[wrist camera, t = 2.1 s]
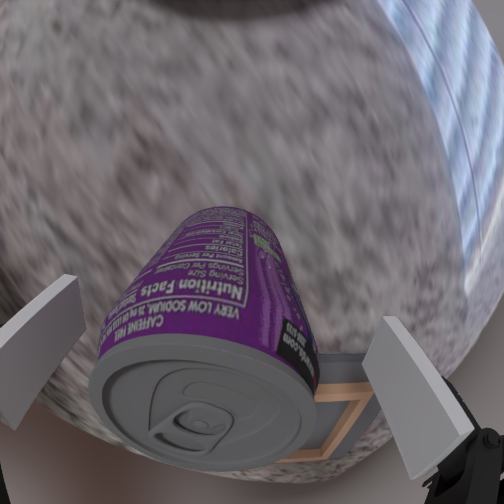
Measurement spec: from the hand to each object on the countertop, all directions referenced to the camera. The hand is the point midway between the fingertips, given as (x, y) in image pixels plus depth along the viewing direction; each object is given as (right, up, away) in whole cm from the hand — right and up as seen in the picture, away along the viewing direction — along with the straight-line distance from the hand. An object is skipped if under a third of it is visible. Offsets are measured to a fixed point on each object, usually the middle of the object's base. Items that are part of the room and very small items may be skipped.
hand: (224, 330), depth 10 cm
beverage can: (-1, +3, +7) cm, 7 cm away
